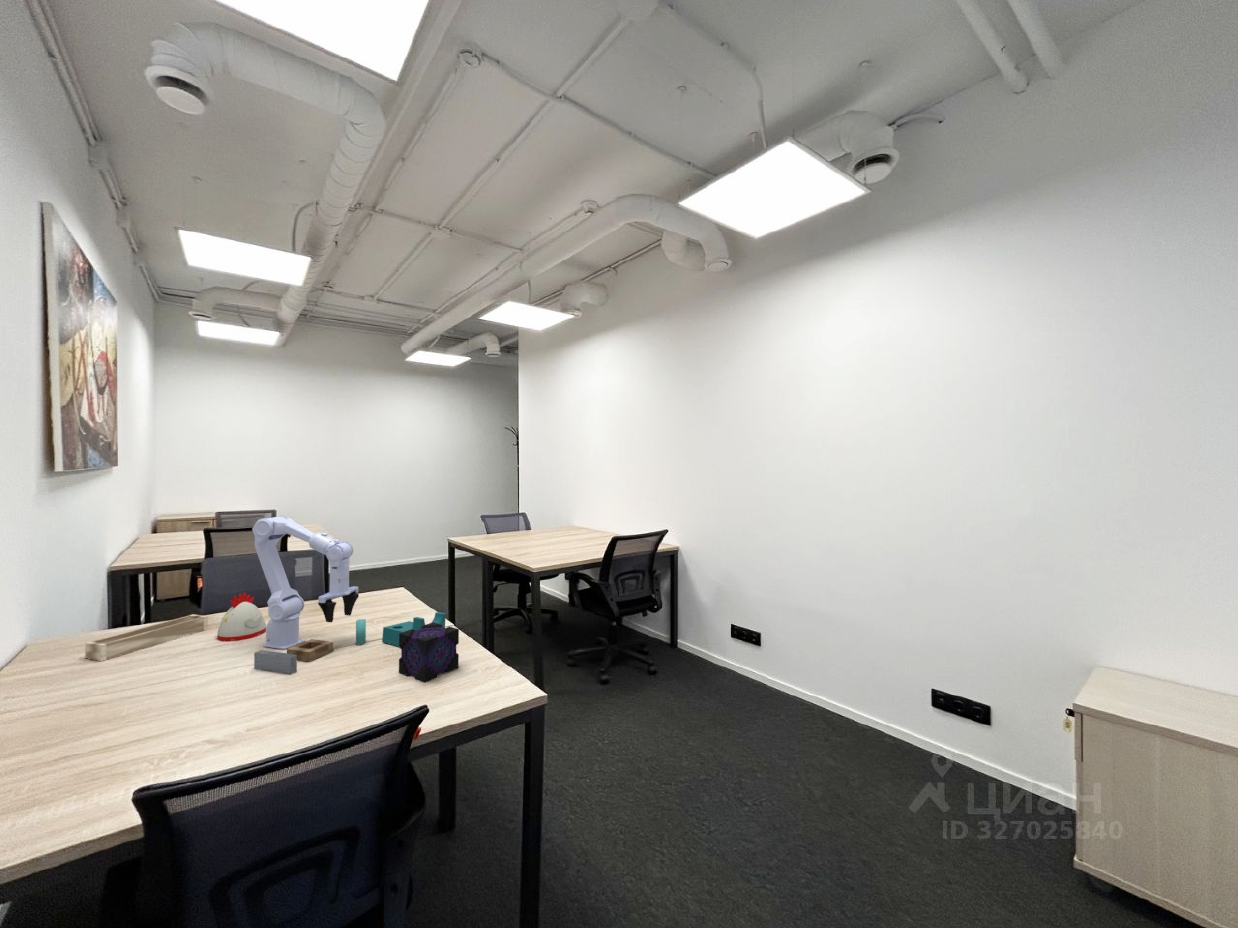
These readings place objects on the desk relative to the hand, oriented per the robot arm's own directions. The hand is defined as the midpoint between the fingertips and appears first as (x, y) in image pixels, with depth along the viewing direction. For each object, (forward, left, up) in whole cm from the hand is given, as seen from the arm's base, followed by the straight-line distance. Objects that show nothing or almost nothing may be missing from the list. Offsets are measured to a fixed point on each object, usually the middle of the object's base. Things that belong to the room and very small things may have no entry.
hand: (338, 618), depth 164 cm
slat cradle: (-63, -16, -9) cm, 66 cm away
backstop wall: (-2, -21, -9) cm, 23 cm away
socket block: (-2, -9, -9) cm, 13 cm away
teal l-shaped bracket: (+22, +10, -10) cm, 26 cm away
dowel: (+6, +4, -9) cm, 12 cm away
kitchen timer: (-42, -1, -10) cm, 43 cm away
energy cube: (+42, -8, -10) cm, 44 cm away
